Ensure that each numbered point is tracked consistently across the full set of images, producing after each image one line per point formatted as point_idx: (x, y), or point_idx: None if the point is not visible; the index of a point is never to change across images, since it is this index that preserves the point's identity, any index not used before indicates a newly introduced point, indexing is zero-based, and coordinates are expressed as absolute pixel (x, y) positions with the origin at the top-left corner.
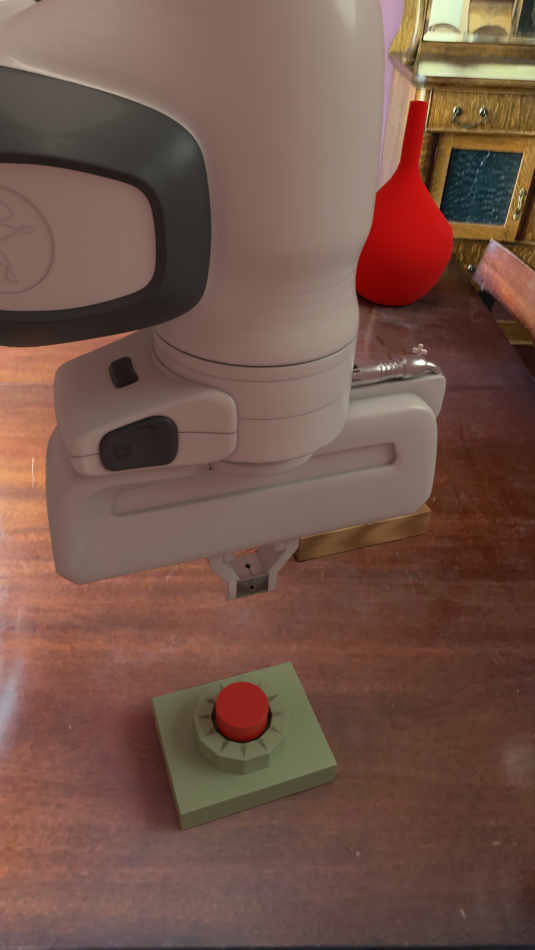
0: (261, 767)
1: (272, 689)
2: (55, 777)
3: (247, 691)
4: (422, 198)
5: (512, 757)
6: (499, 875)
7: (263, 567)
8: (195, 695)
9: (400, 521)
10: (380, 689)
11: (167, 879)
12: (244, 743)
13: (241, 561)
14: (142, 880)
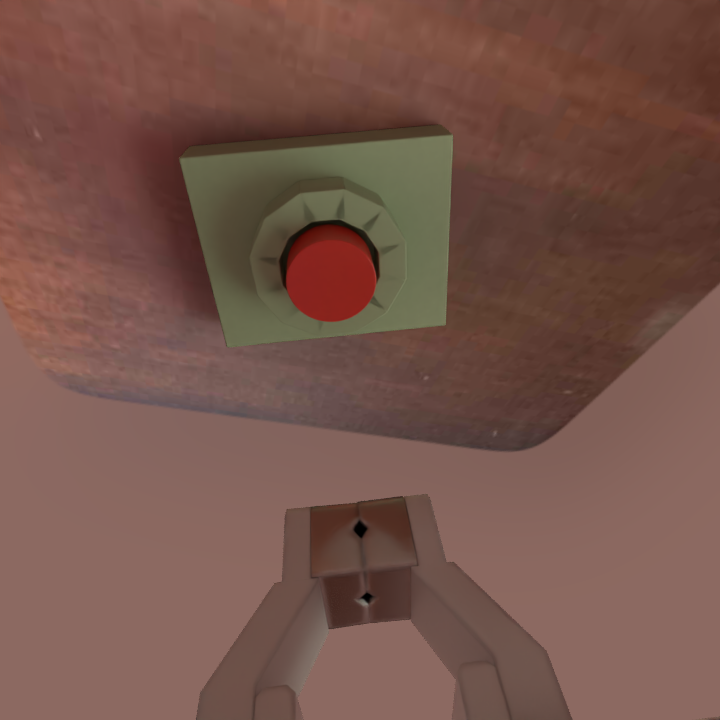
0: None
1: (394, 233)
2: (39, 223)
3: (346, 262)
4: None
5: (662, 318)
6: (548, 415)
7: (410, 602)
8: (261, 171)
9: None
10: (574, 184)
11: (214, 367)
12: None
13: (353, 585)
14: (185, 363)
